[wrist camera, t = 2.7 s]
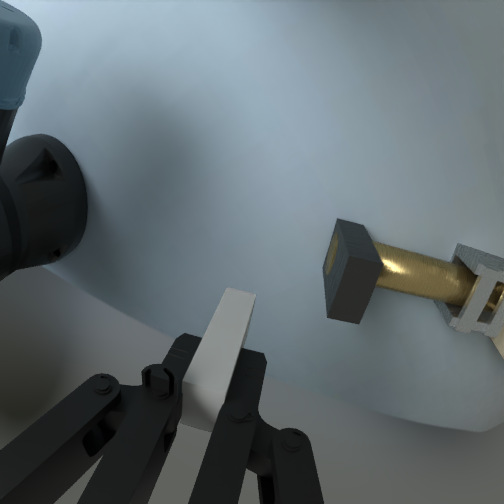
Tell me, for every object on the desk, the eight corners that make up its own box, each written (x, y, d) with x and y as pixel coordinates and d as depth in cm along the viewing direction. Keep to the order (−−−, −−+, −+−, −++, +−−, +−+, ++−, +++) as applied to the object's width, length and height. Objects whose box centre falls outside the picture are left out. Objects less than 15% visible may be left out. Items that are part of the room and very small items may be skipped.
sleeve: (433, 299, 28) (450, 329, 23) (457, 243, 25) (481, 266, 20) (480, 310, 27) (499, 338, 23) (504, 259, 25) (529, 282, 20)
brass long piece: (322, 268, 28) (327, 317, 21) (337, 218, 26) (349, 255, 19) (475, 304, 27) (506, 349, 20) (494, 264, 25) (532, 303, 18)
